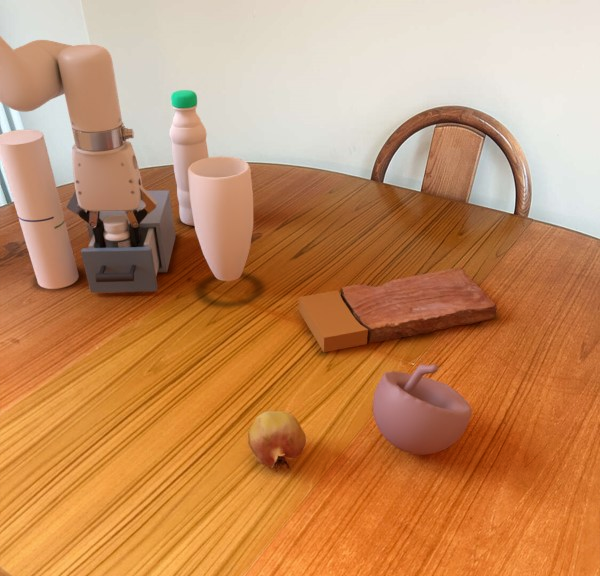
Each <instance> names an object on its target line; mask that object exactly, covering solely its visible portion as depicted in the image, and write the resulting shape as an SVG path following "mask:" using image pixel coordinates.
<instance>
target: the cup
mask: <svg viewBox="0 0 600 576" xmlns="http://www.w3.org/2000/svg"><path fill="white" fill-rule="evenodd" d="M188 178H189V191H190V201H191V207H192V213H193V219H194V225H195V226H194V231H195V234H196V236H197V239H198V242H199V246H200V249H201V252H202V254H203V256H204V259H205V261H206V263H207V265H208V267H209V269H210V271H211V272H212V274H213V275H214V277H215V278H216V280H219V281H222V282H230V281H231V282H232V281H236V280H238V279H239V278H241V277H242V275H243V271H244V269H245V266H246V264H247V260H248V257H249V253H250V249H251V243H252V237H253V231H254V192H253V180H252V171H251V166H250V164H249V162H248V161H246V160H243V159H242V158H238V157H234V156H211V157H209V158H205V159H201V160H198V161H196V162H194V163H192V164H191V165H190V167H189V168H188Z"/></svg>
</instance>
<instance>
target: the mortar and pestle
mask: <svg viewBox="0 0 600 576" xmlns="http://www.w3.org/2000/svg"><path fill="white" fill-rule="evenodd" d="M438 371H439V365H438V364H429V365H427V364H425V363H421V364H419V365H418V366H416V369H415V370H414V372H412V373H408V372H402V371H396V370H390V371H386V372H385V373H383V375H382V376H381V378H380V379H379V382H378V383H377V385H376V387H375V391H374V394H373V399H372V413H373V418H374V421H375V424H376V427H377V429H378V430H379V432H380V434H381V435H382V436H383V437H384V438H385V440H386V441H387V442H389V444H391V445H392V446H394V448H396V449H398V450H400V451H402V452H405V453H409V454H412V455H418V456H419V455H421V456H422V455H423V456H424V455H425V456H427V455H433V454H437V453H439V452H442V451H444V450H446V449H449V448H450V447H451V446H452V445H454V444H455V443H456V442H457V441H458V440H459V439H460V438H461V437H462V436H463V434H464V433H465V431H466V430H467V428H468V426H469V423H470V420H471V418H472V407H471V405H470V404H469V402H468V401H467V400H466V398H465V397H464V396H463V395H462V394H460V393H459V392H458V390H455V388H453V387H451V386H450V385H448V384H447V383H444V382H442V381H438V380H436V379H433V378H430V377H426V376H425V375H428V374H436V373H437V372H438Z"/></svg>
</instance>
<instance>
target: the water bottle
mask: <svg viewBox="0 0 600 576" xmlns="http://www.w3.org/2000/svg"><path fill="white" fill-rule="evenodd" d="M170 102H171V106H172V109H173V110H174V116H173V118H172V123H171V126H170V128H169V139H170V141H171V157H172V165H173V172H174V173H173V174H174V178H175V183H176V196H177V197H176V198H177V201H178V212H179V219H180V221H181V222H182V224H185V225H187V226H189V227H190V226H191V227H192V226H193V227H195V225H194V219H193V213H192V207H191V201H190V191H189V178H188V168H189V167H190V165H191V164H192V163H194V162H196V161H198V160H201V159H205V158H210V157H209V149H208V143H207V129H206V127H205V126H204V124H203V122H202V121H201V118H200V115H198V113H197V111H196V110H197V108H198V97H197V93H196V92H195V91H193V90H189V89H181V90H176V91H173V92H172V93H171V95H170Z"/></svg>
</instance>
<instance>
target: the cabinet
mask: <svg viewBox="0 0 600 576" xmlns="http://www.w3.org/2000/svg"><path fill="white" fill-rule="evenodd" d="M146 191H147V192H148V193H149V194H150V195H151V196H152V197H153V198H154V200H155V201H156V202H157V206H156V208H155V209H154V210H153V211H152V212H150V213H149V214H148V215H146V217H145V218H144V219H143V220H142V221H141V223H140V224H139V225H140V228H146V227H156V232H157V239H158V245H159V251H160V258H161V261H160V264H159V268H158V272H157V273H167V272H168V269H169V265H170V261H171V258H172V253H173V249H174V245H175V242H176V237H177V236H176V230H175V221H174V215H173V214H174V213H173V206H172V200H171V193H170V190H169V189H166V190H164V189H163V190H162V189H161V190H146ZM143 206H145V203H144V202H143V201H142V200H140V207H139V208H138V209H137V210H138V211H139V210H140V209H141V208H142V207H143ZM114 215H121V216H125V217H126V218H127V219H128V217H127V215H126V213H125V211H100V219H101V220H102V221H104V219H105V218H107V217H110V216H114ZM128 224H129V226H130V221H129V219H128ZM128 228H129V227H128ZM86 229H87V233H88V236H89V241H91V239H92V237H93V235H94V232H93V228H91V227H90V226H89V224H88V223H87V222H86Z"/></svg>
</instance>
